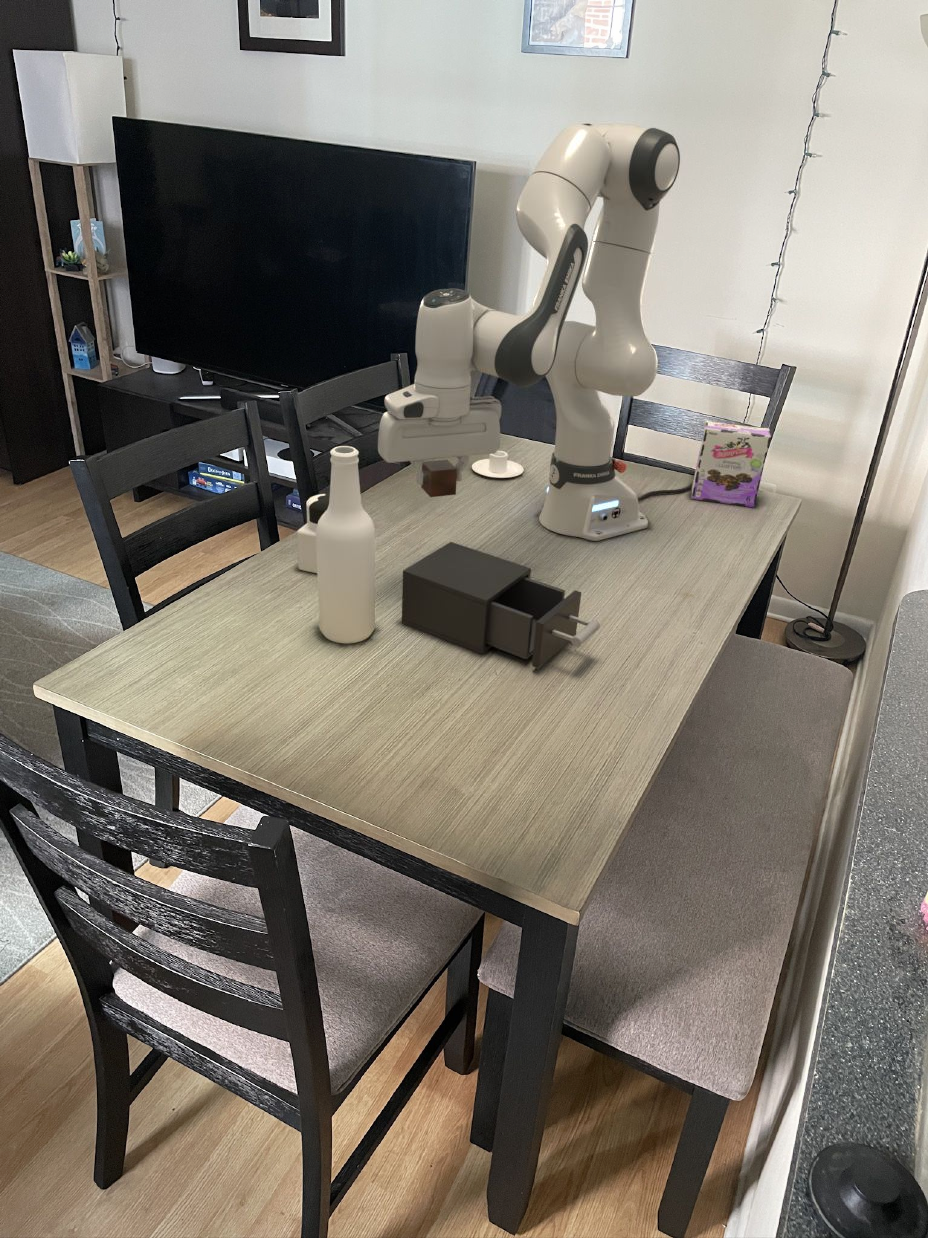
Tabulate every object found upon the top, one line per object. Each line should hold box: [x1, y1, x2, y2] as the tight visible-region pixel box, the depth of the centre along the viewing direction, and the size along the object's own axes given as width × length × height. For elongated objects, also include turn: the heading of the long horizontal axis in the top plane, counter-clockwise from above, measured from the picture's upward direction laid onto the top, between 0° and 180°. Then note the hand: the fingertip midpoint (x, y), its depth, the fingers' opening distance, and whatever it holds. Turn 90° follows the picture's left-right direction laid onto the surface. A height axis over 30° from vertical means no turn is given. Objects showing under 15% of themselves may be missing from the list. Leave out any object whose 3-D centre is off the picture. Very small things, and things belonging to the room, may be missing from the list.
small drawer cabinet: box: [401, 541, 532, 655], centre depth 144 cm, size 16×14×10 cm
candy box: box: [691, 420, 772, 508], centre depth 195 cm, size 14×6×16 cm, turn 76°
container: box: [296, 493, 330, 574], centre depth 158 cm, size 8×8×13 cm
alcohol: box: [316, 445, 376, 644], centre depth 134 cm, size 9×9×30 cm
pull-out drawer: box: [486, 577, 601, 669], centre depth 138 cm, size 20×12×8 cm, turn 57°
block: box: [420, 459, 458, 498], centre depth 147 cm, size 4×4×4 cm
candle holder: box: [471, 450, 524, 479], centre depth 205 cm, size 12×12×4 cm
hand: (438, 481), depth 147 cm, fingers closed on block, 4 cm apart
